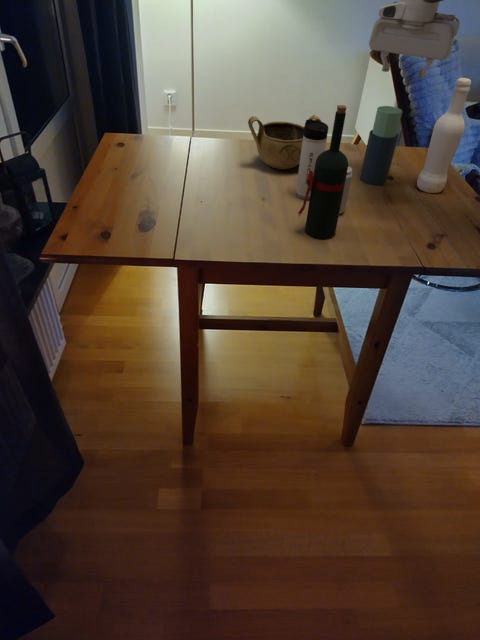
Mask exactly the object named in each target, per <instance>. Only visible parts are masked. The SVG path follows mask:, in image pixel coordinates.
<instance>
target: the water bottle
mask: <svg viewBox="0 0 480 640" xmlns="http://www.w3.org/2000/svg"><path fill="white" fill-rule="evenodd" d="M372 130H373V129H371V130H370V131H369V134H368V137H367V138H368V139H367V142H366V146H365V152H364V156H363V161H362V165H361V169H360V174H359V180H360V181H361V182H362V183H364V184H367V185H370V186H384V185H385V184H386V183H387V180H388V177H389V174H390V170H391V166H392V163H393V158H394V155H395V151H396V147H397V145H398V144H397V143H398V141H399V140H398V139H399V133H397V134H396V136H395V137H391V138H385V137H379V136H376V135H374V134H373V132H372Z"/></svg>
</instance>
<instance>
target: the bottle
mask: <svg viewBox="0 0 480 640" xmlns="http://www.w3.org/2000/svg"><path fill="white" fill-rule="evenodd" d="M471 85H472V80H471V79H470V78H466V77H459V78H458V79H457V80H456V85H455V86H454V91H453V93H452V96H451V99H450V103H449V105H448V108H447V111H446V112H445V113H443V114H442V115H440V117H439V118H438V119H437V120H436V122H435V124H434V126H433V129H432V132H431V137H430V140H429V145H428V149H427V153H426V158H425V162H424V165H423V167H422V169H421V170H420V172H419V173H418V175H417V178H416V179H417V180H416V187H417V188H418V189H419V190H420V191H422V192H424V193H428V194H439V193H441V192H442V191H443V190H444V189H445V187H446V184H447V181H448V172H449V170H450V167H451V164H452V161H453V159H454V157H455V155H456V152H457V149H458V147H459V145H460V143H461V140H462V138H463V135H464V133H465V129H466V126H465V125H466V123H465V119H464V117H463V111H464V109H465V108H464V107H465V105H466V101H467V98H468V95H469V92H471Z"/></svg>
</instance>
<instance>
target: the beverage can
mask: <svg viewBox="0 0 480 640" xmlns="http://www.w3.org/2000/svg"><path fill="white" fill-rule="evenodd" d="M352 178H353V168H352V167H350V166H349V165H348V170H347V175H346V180H345V186H344V191H343V196H342V201H341V206H340V211H339V215H340V214H343V213H344V212H345V211H346V206H347V202H348V197H349V192H350V188H351V183H352Z"/></svg>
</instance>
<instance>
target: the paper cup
mask: <svg viewBox="0 0 480 640" xmlns="http://www.w3.org/2000/svg"><path fill="white" fill-rule="evenodd" d="M402 115H403V110H402V109H401V108H399V107H395V106H391V105H382V106H378V107H377V109H376V113H375V117H374V122H373V127H372V129H371V130H372V132H373V134H374V135H376V136H379V137H385V138H391V137H395V136H396V134H398V130H399V125H400V123H401V118H402Z"/></svg>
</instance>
